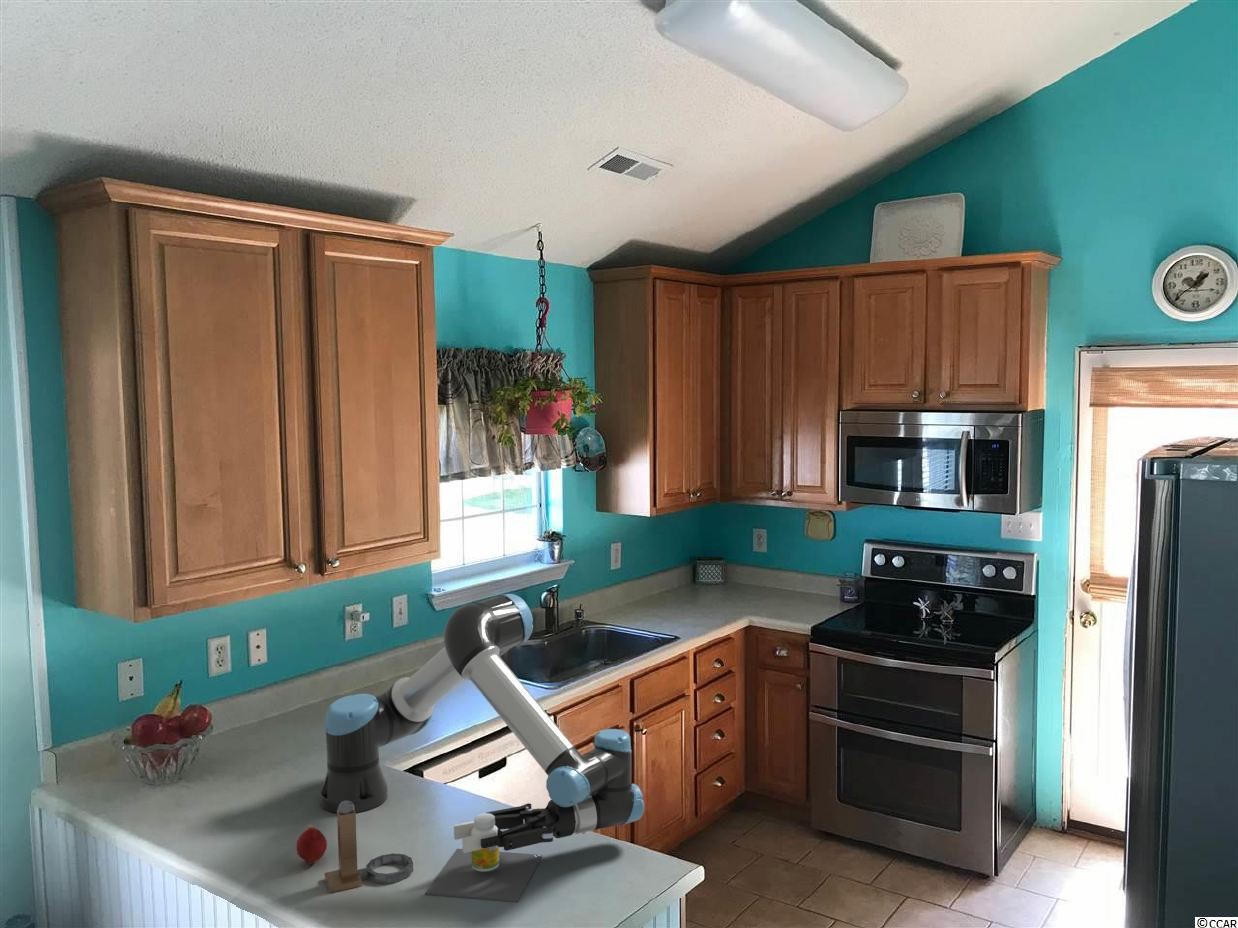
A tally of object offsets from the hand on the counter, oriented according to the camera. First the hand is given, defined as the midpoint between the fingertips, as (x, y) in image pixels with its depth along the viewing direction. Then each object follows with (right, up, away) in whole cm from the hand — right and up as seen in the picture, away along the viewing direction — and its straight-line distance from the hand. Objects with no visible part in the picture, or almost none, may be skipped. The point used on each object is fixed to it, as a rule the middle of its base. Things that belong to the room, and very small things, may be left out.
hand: (458, 838), depth 188 cm
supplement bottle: (+5, -6, +3) cm, 8 cm away
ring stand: (-18, -8, +2) cm, 20 cm away
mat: (+5, -8, +3) cm, 10 cm away
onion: (-31, -8, +8) cm, 33 cm away
